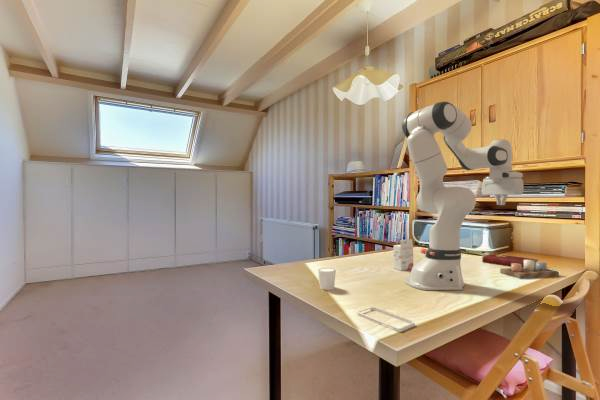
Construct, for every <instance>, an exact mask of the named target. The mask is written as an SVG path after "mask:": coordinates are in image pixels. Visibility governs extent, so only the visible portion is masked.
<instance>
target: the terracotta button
mask: <svg viewBox="0 0 600 400" xmlns="http://www.w3.org/2000/svg"><path fill="white" fill-rule="evenodd" d="M510 268H511V271H514V272H522V264H518V263H511V267H510Z"/></svg>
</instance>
